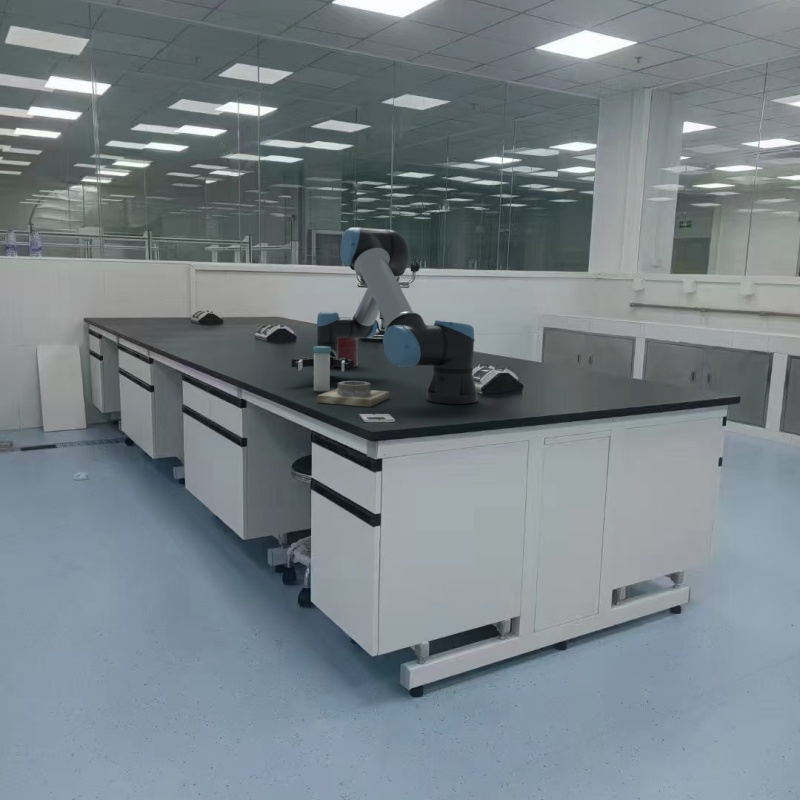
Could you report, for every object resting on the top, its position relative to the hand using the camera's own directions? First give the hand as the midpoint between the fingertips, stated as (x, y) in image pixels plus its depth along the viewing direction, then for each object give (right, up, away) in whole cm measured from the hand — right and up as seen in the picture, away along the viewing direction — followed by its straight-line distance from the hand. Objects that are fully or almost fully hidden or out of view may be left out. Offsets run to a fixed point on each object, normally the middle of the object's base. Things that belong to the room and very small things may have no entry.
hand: (320, 366), depth 223 cm
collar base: (+11, -11, -17) cm, 23 cm away
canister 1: (0, -7, 0) cm, 7 cm away
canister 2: (+1, +3, +62) cm, 62 cm away
